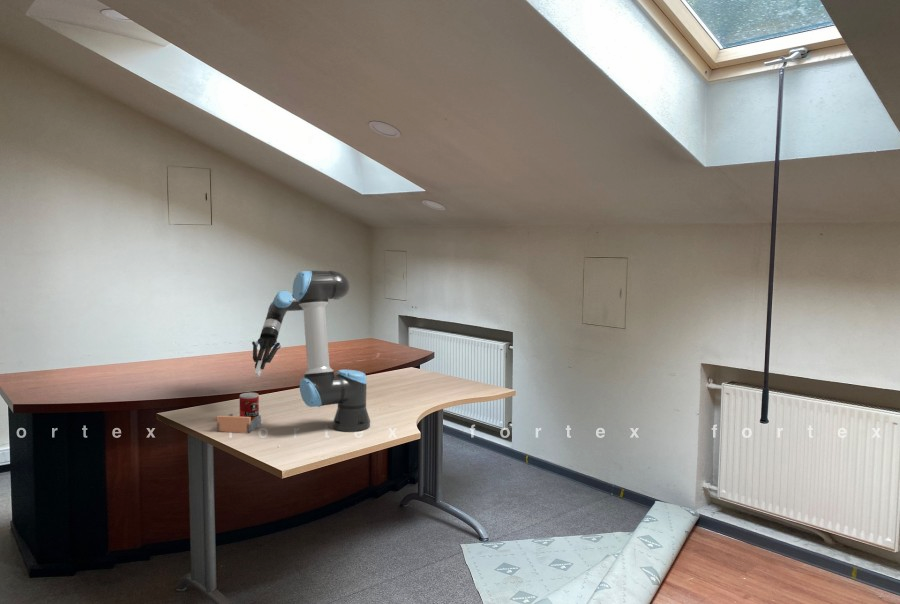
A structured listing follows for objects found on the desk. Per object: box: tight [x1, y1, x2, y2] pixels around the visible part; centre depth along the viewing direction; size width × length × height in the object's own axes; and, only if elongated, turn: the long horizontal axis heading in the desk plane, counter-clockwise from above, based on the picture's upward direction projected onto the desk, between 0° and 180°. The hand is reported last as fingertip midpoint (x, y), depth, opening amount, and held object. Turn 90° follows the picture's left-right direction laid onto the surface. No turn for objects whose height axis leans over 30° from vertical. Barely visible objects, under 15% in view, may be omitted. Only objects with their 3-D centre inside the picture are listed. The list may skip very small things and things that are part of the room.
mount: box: [216, 413, 262, 434], centre depth 249 cm, size 13×12×6 cm
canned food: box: [239, 392, 260, 421], centre depth 259 cm, size 8×8×11 cm
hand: (257, 374), depth 267 cm, fingers closed
